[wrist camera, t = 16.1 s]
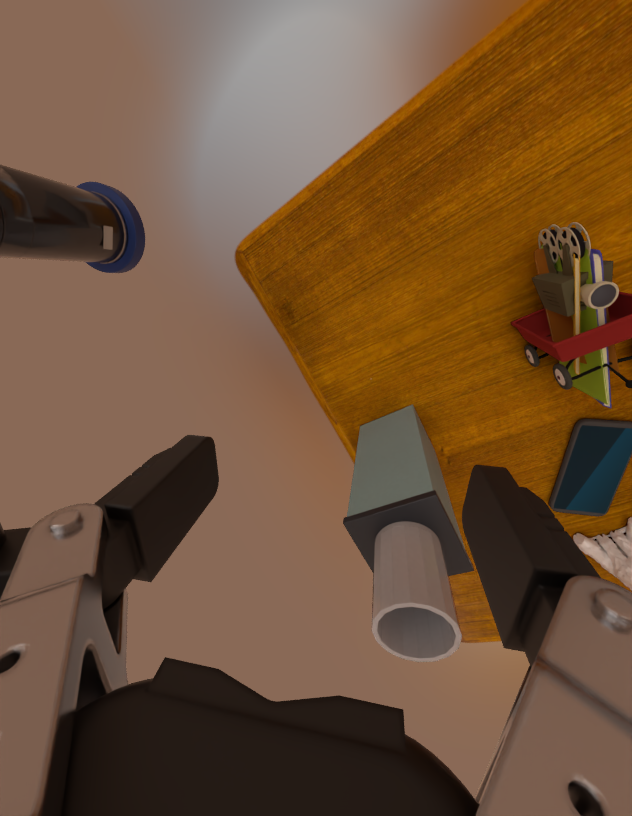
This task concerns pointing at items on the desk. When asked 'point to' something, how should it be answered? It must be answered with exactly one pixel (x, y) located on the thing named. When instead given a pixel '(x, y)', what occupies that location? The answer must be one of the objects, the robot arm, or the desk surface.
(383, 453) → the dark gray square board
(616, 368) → the loaded red toy wagon
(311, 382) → the desk surface
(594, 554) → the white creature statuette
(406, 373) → the desk surface
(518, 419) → the desk surface
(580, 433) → the smartphone
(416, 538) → the grey cup
